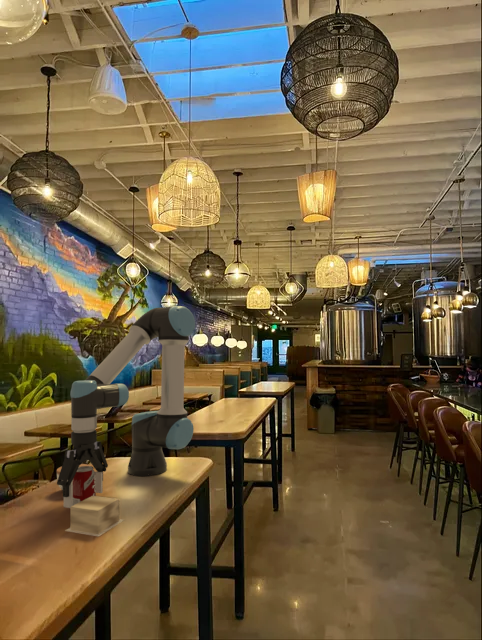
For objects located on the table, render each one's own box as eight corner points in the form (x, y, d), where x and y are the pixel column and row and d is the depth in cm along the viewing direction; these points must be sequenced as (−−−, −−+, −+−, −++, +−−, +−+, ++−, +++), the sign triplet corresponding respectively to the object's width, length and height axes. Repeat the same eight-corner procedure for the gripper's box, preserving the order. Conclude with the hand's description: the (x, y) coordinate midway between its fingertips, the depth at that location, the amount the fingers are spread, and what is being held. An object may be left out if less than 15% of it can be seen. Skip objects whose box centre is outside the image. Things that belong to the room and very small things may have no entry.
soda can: (77, 513, 132) (77, 473, 133) (69, 507, 137) (69, 468, 138) (99, 507, 137) (99, 468, 137) (90, 502, 142) (90, 464, 142)
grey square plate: (88, 514, 131) (88, 510, 131) (129, 520, 126) (129, 516, 126) (53, 533, 118) (53, 529, 118) (97, 541, 113) (97, 537, 113)
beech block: (92, 516, 127) (92, 495, 127) (119, 520, 123) (119, 499, 124) (70, 529, 118) (70, 506, 118) (97, 534, 115) (97, 510, 115)
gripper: (100, 422, 151) (100, 485, 150) (43, 437, 128) (43, 512, 127) (118, 423, 148) (118, 488, 147) (64, 439, 125) (64, 515, 124)
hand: (83, 499), depth 137 cm, fingers open, 13 cm apart
